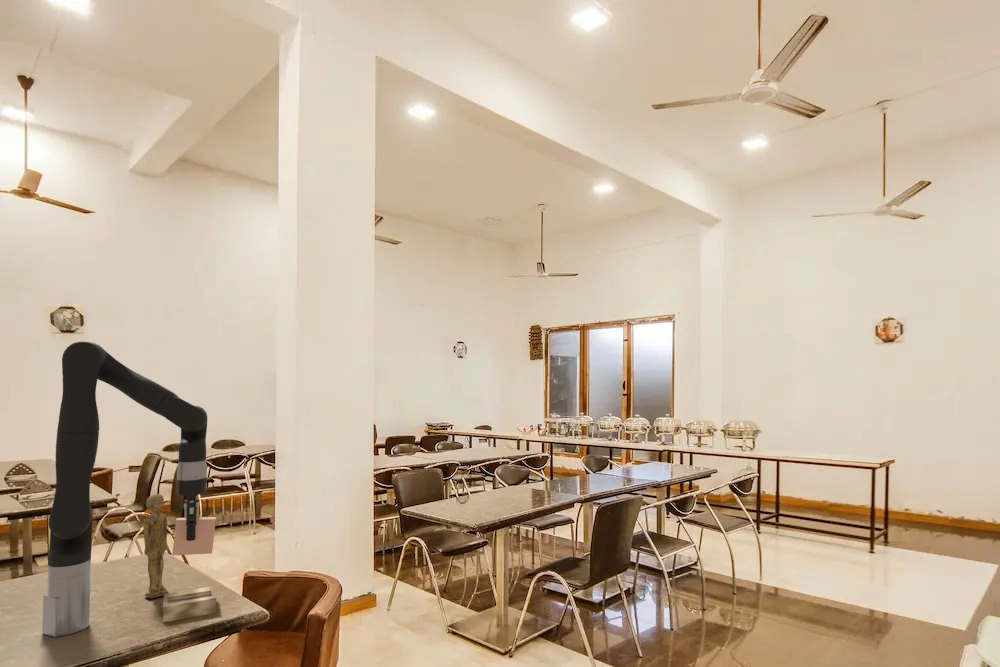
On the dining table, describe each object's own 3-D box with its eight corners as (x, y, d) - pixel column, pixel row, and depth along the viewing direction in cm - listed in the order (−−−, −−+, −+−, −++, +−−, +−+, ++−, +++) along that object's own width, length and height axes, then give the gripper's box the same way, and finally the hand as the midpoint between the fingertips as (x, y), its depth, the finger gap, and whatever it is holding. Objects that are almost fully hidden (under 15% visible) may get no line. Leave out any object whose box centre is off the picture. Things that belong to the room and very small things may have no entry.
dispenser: (162, 622, 162) (162, 604, 162) (163, 608, 171) (164, 591, 172) (216, 612, 168) (216, 595, 168) (214, 599, 177) (214, 583, 178)
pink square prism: (172, 555, 167) (176, 520, 168) (172, 552, 170) (176, 518, 171) (212, 553, 172) (215, 519, 173) (211, 550, 174) (215, 516, 175)
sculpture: (148, 601, 177) (150, 497, 179) (138, 597, 181) (140, 495, 183) (172, 594, 182) (173, 493, 184) (162, 590, 186) (164, 491, 188)
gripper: (207, 479, 167) (206, 543, 166) (206, 472, 180) (204, 531, 179) (176, 481, 164) (175, 547, 163) (177, 474, 176) (176, 535, 175)
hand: (190, 538), depth 171 cm, fingers closed on pink square prism, 2 cm apart
